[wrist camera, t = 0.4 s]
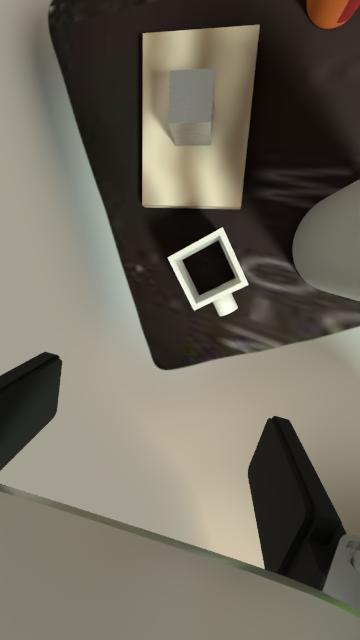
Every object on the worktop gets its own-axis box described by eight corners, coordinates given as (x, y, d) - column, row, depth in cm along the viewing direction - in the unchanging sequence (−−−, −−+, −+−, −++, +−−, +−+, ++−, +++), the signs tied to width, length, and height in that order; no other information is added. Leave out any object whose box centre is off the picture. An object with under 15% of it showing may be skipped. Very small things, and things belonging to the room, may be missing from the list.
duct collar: (220, 234, 32) (222, 227, 25) (249, 298, 34) (259, 307, 27) (176, 258, 34) (167, 257, 27) (206, 318, 35) (204, 331, 29)
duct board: (257, 37, 26) (259, 24, 25) (239, 209, 31) (240, 206, 29) (146, 45, 28) (142, 33, 26) (145, 207, 32) (142, 204, 31)
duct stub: (214, 102, 27) (214, 68, 22) (211, 145, 28) (210, 122, 23) (177, 103, 28) (169, 70, 23) (175, 146, 29) (168, 123, 24)
